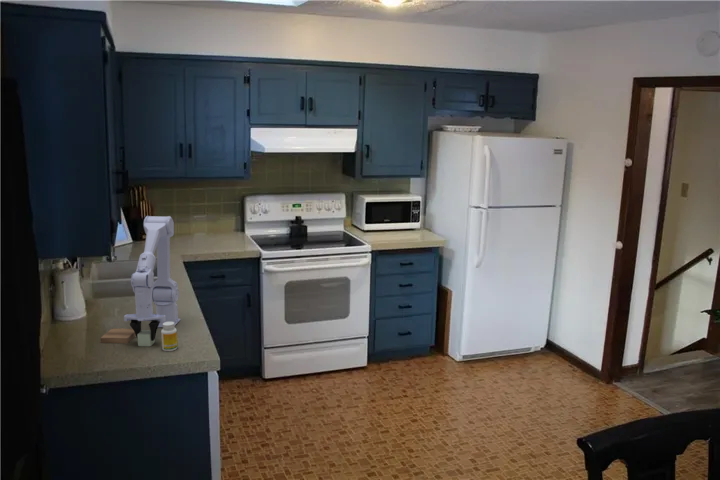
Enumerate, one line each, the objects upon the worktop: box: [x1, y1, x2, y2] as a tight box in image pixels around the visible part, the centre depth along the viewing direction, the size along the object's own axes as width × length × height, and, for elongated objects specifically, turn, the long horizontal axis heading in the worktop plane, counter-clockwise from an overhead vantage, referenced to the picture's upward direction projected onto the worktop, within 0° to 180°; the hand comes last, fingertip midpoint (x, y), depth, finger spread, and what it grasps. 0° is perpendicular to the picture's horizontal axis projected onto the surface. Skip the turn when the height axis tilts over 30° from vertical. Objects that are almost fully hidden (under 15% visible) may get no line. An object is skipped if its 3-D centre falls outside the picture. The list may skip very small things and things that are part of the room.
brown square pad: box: [100, 327, 136, 345], centre depth 233 cm, size 10×10×2 cm
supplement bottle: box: [160, 322, 179, 352], centre depth 222 cm, size 5×5×10 cm
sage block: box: [137, 329, 156, 347], centre depth 227 cm, size 4×4×4 cm
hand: (146, 339), depth 227 cm, fingers closed on sage block, 4 cm apart
